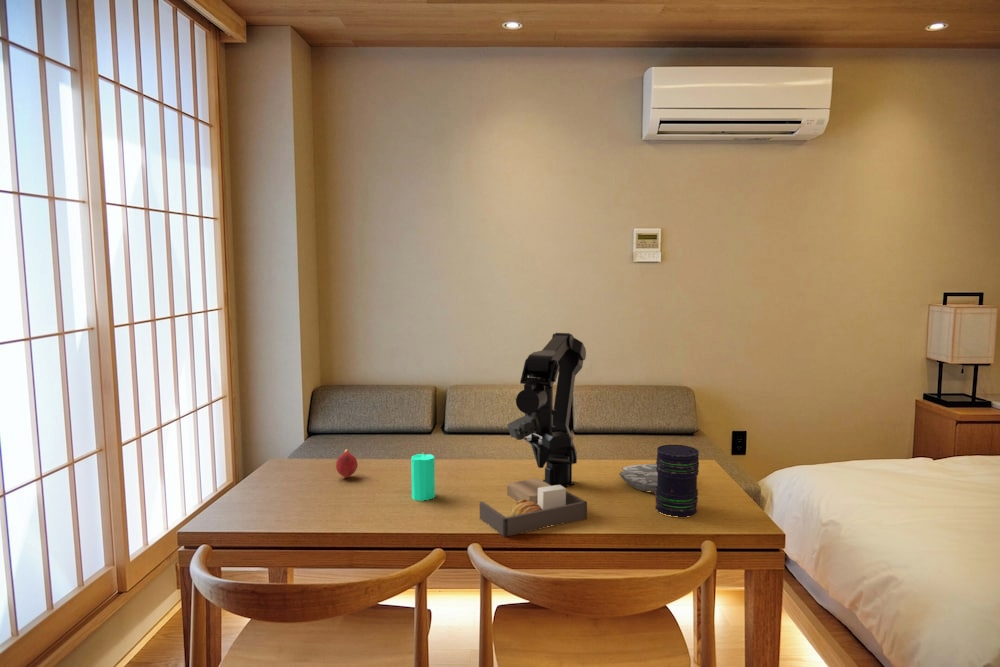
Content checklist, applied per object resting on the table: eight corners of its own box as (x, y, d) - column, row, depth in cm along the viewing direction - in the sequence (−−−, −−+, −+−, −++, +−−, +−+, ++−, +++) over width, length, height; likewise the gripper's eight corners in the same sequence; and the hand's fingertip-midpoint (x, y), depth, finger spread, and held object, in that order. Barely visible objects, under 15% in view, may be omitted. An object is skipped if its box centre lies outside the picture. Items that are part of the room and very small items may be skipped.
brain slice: (627, 470, 195) (627, 460, 195) (688, 477, 189) (688, 467, 189) (612, 492, 177) (612, 481, 177) (679, 500, 171) (679, 489, 171)
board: (537, 489, 179) (537, 478, 178) (560, 502, 169) (560, 490, 169) (507, 494, 174) (507, 483, 174) (529, 508, 165) (529, 496, 165)
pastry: (553, 524, 155) (553, 508, 155) (527, 530, 152) (527, 513, 152) (532, 511, 164) (532, 496, 163) (507, 516, 161) (507, 500, 160)
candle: (431, 501, 170) (430, 454, 168) (408, 499, 171) (407, 453, 169) (438, 493, 175) (437, 448, 174) (416, 492, 177) (415, 447, 175)
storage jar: (652, 514, 161) (653, 453, 159) (658, 501, 170) (659, 442, 168) (695, 520, 157) (697, 457, 156) (699, 506, 166) (701, 446, 165)
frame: (558, 502, 169) (558, 486, 168) (586, 518, 158) (587, 502, 158) (479, 518, 158) (479, 502, 158) (504, 536, 148) (504, 519, 148)
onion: (355, 481, 185) (354, 452, 184) (334, 481, 185) (333, 452, 184) (359, 474, 191) (359, 447, 190) (339, 474, 191) (338, 446, 190)
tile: (559, 484, 164) (565, 488, 162) (559, 508, 165) (565, 512, 162) (537, 487, 162) (543, 491, 159) (537, 512, 163) (543, 516, 160)
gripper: (494, 401, 170) (494, 462, 172) (532, 416, 154) (532, 483, 156) (532, 397, 176) (531, 456, 177) (573, 411, 159) (572, 476, 161)
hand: (540, 467), depth 168 cm, fingers closed
